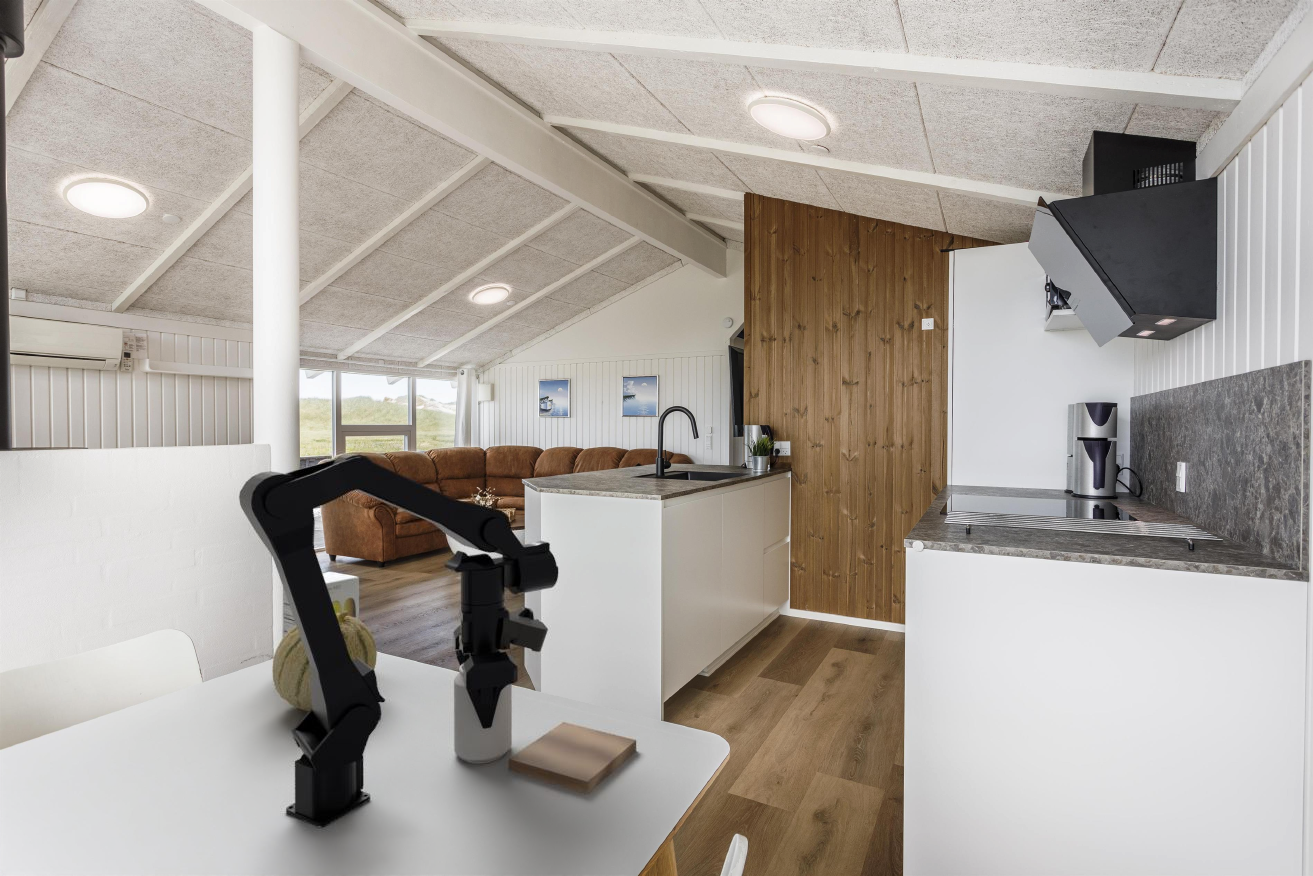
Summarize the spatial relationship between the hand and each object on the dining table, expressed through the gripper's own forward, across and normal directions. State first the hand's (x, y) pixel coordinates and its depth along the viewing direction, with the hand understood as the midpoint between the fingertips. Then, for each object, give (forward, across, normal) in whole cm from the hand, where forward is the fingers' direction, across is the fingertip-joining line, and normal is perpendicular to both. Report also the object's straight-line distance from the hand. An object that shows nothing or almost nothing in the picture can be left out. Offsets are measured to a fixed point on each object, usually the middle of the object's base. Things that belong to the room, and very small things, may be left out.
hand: (483, 715), depth 89 cm
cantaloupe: (+5, +24, +21) cm, 32 cm away
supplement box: (+5, +42, +23) cm, 48 cm away
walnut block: (+6, -6, -11) cm, 14 cm away
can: (+5, 0, 0) cm, 5 cm away
